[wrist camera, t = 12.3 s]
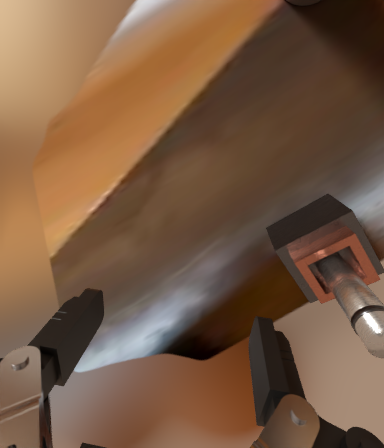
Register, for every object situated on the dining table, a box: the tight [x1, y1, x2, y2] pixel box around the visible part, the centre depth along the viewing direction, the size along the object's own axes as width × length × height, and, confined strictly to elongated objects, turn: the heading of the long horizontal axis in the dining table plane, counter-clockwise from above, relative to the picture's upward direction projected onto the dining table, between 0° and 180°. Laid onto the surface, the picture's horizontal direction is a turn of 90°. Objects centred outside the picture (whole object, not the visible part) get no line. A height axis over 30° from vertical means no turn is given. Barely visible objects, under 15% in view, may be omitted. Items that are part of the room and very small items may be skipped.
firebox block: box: [266, 194, 384, 303], centre depth 37 cm, size 11×11×10 cm
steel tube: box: [315, 252, 384, 358], centre depth 28 cm, size 4×4×14 cm
